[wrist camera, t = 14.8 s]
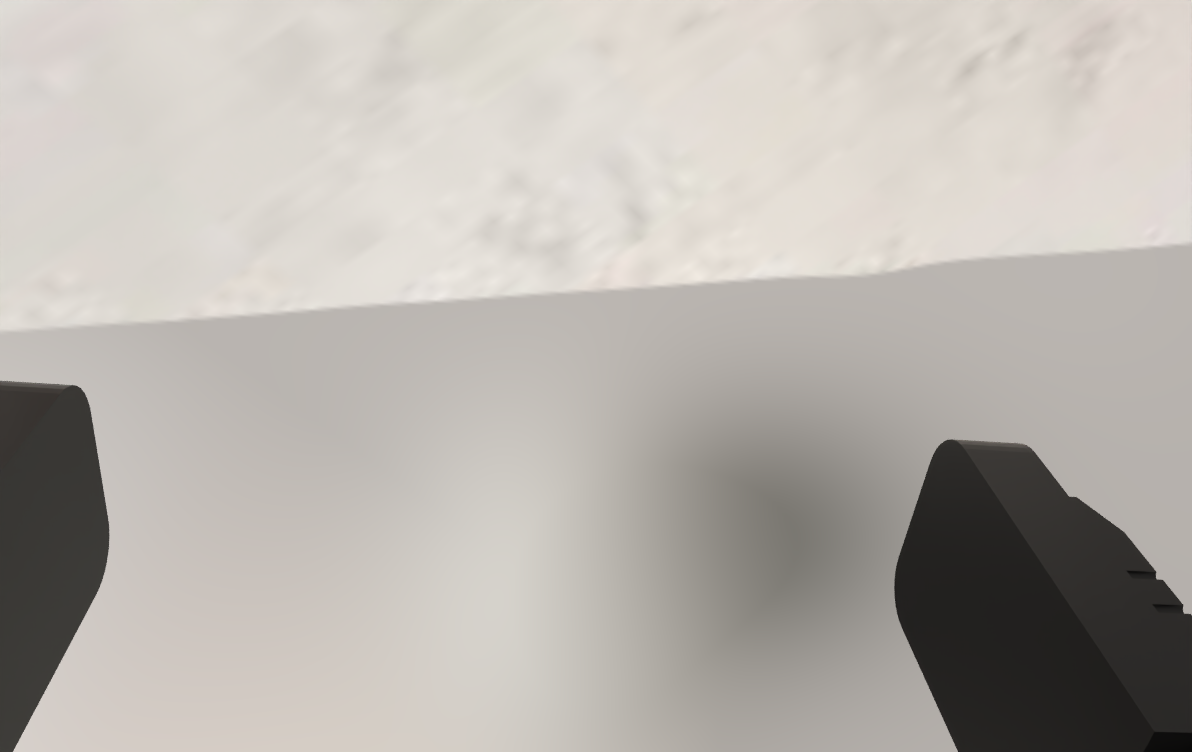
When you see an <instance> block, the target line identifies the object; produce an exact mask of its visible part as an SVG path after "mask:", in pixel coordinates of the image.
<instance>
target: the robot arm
mask: <svg viewBox="0 0 1192 752" xmlns="http://www.w3.org/2000/svg"><path fill="white" fill-rule="evenodd" d="M108 549H109V522H108V515H107V509H106V503H105V497H104V491H103V484H102V478H101V472H100V466H99V460H98V454H97V447H96V441H95V435H94V429H93V423H92V417H91V411H90V407H89V403H88V400H87V397H86V395H85V393H84V392H83V391H82V389H81V388H79V387H78V386H74V385H59V384H42V383H26V382H10V381H9V382H8V381H0V752H13V750H14V748H15V746H16V745H17V743H18V741H19V739H20V737H21V735H22V733H23V732H24V730H25V728H26V726H27V724H28V722H29V720H30V718H31V716H32V715H33V712H34V711H35V709H36V707H37V705H38V703H39V701H40V699H41V698H42V696H43V694H44V692H45V690H46V688H47V686H48V684H49V682H50V681H51V679H52V677H53V675H54V673H55V671H56V669H57V667H58V665H59V663H60V662H61V660H62V658H63V656H64V654H65V652H66V650H67V649H68V647H69V645H70V643H71V641H72V639H73V637H74V635H75V633H76V632H77V630H78V628H79V626H80V624H81V622H82V620H83V618H84V616H85V614H86V613H87V611H88V609H89V607H90V605H91V603H92V601H93V599H94V598H95V596H96V594H97V592H98V589H99V587H100V584H101V582H102V579H103V575H104V572H105V567H106V563H107V556H108ZM894 589H895V603H896V609H897V614H898V618H899V621H900V624H901V626H902V629H903V631H904V633H905V636H906V638H907V640H908V642H909V644H910V647H911V649H912V651H913V653H914V655H915V658H916V660H917V662H918V664H919V667H920V669H921V671H922V673H923V675H924V678H925V680H926V682H927V684H928V686H929V689H930V691H931V693H932V695H933V697H934V700H935V702H936V704H937V706H938V708H939V710H940V713H941V715H942V717H943V719H944V722H945V724H946V726H947V728H948V730H949V733H950V735H951V737H952V739H953V742H954V743H955V746H956V748H957V750H958V752H1192V615H1191V614H1184V613H1183V604H1182V603H1181V602H1180V601H1179V599H1178V598H1177V597H1176V596H1175V594H1174V593H1173V592H1172V591H1171V589H1170V588H1169V587H1168V586H1167V585H1166V583H1165V582H1164V581H1163V580H1157V579H1156V571H1155V570H1154V568H1153V567H1152V566H1151V565H1150V564H1149V562H1148V561H1147V560H1146V559H1145V557H1144V556H1143V555H1142V554H1141V553H1140V551H1139V550H1138V549H1137V548H1136V547H1135V545H1134V544H1133V543H1132V541H1131V540H1130V539H1129V538H1128V537H1127V535H1126V534H1125V533H1124V532H1123V531H1122V530H1120V529H1119V528H1118V527H1116V526H1115V525H1114V524H1112V523H1111V522H1110V521H1108V520H1107V519H1105V518H1104V517H1103V516H1101V515H1100V514H1098V513H1097V512H1096V511H1095V510H1093V509H1092V508H1090V507H1089V506H1088V505H1086V504H1085V503H1084V502H1082V501H1081V500H1080V499H1078V498H1077V497H1069V496H1068V495H1067V493H1066V492H1065V491H1064V490H1063V488H1062V487H1061V486H1060V484H1059V483H1058V482H1057V481H1056V479H1055V478H1054V477H1053V476H1052V474H1051V473H1050V472H1049V470H1048V469H1047V468H1046V466H1045V465H1044V464H1043V462H1042V461H1041V460H1040V459H1039V457H1038V456H1037V455H1036V453H1035V452H1034V451H1033V450H1032V449H1031V448H1030V447H1028V446H1027V445H1024V444H1018V443H1001V442H984V441H968V440H946V441H944V442H943V443H942V444H940V445H939V447H938V448H937V449H936V451H935V453H934V455H933V457H932V459H931V462H930V465H929V468H928V471H927V474H926V477H925V480H924V483H923V486H922V489H921V492H920V495H919V498H918V501H917V504H916V507H915V510H914V513H913V516H912V519H911V522H910V525H909V528H908V531H907V534H906V537H905V540H904V544H903V546H902V549H901V552H900V555H899V559H898V562H897V566H896V572H895V586H894Z"/></svg>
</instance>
